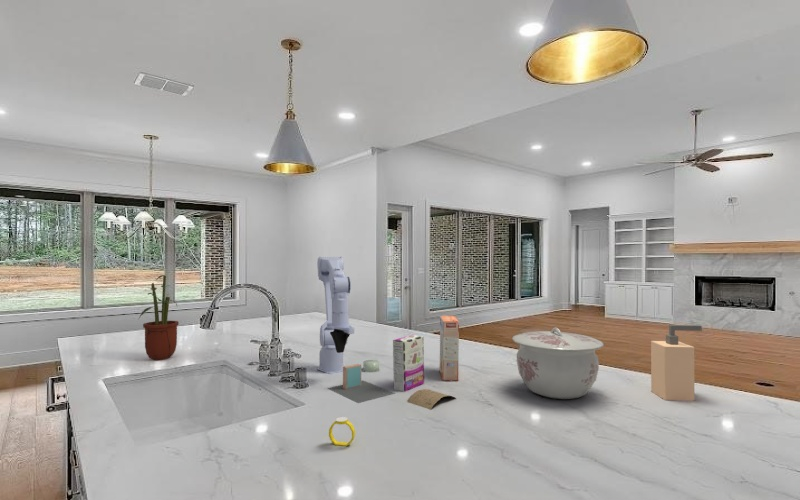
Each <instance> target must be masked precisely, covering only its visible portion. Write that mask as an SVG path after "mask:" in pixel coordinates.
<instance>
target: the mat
mask: <svg viewBox="0 0 800 500" xmlns="http://www.w3.org/2000/svg"><path fill="white" fill-rule="evenodd" d="M326 388H327V390H329V391H332V392H334V393H336V394H339V396H340V395H341V396H342V397H344V398H347V399H349V400H351V401H353V402H355V403H357V404H360V403H364V402H369V401H372V400H376V399H379V398H385V397H387V396H392V395H395V394H396V393H395V392H393V391H392V390H388V389H386V388H383V387H381V386H378V385H375V384H373V383H371V382H368V381H366V380H362V379H361V386H359V387H355V388H350V389H344V388H343V384H342V385H341V384H340V385H335V386H332V387H326Z"/></svg>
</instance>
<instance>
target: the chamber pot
mask: <svg viewBox="0 0 800 500" xmlns="http://www.w3.org/2000/svg"><path fill="white" fill-rule="evenodd" d="M511 340H512V341H513V342H514V343H516V345H517V344H518V345H519V349H518V350H517V352H516V364H517V370H518V374H519V375H520V377H521V379H522V381H523V382H524V384H525V386H526V387H527V388H528V389H529V390H530V391H531V392H532V393H535V394H537V395H539V396H543V397H545V398H549V399H553V400H572V399H578V398H581V397H584V396H585V395H587V393H589V391H590V390H591V389H592V387H593V385H594V384H595V383H596V381H597V379H598V373H599V369H600V368H599V357H598V355H597V353H596V350H599V349H601V348H603V347H604V346H605V344H604V342H603V341H602V340H599V339H597V338H593V337H592V336H588V335H585V334H584V335H583V334H579V333H574V332H573V333H572V332H566V331H561V330H560V329H559V328H558V327H553V328H552V329H551V331H549V330H543V331H542V330H540V331H529V332H523V333H518V334H516V335H513V336H512V338H511Z"/></svg>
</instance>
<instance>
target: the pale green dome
mask: <svg viewBox="0 0 800 500" xmlns="http://www.w3.org/2000/svg"><path fill="white" fill-rule="evenodd" d="M362 370H363V372H365V373H377V372H379V371H380V361H379V360H378V359H368V360H363V364H362Z"/></svg>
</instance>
